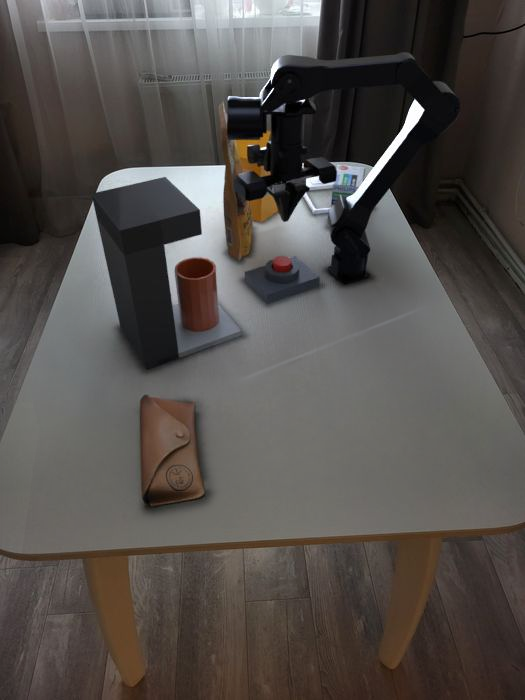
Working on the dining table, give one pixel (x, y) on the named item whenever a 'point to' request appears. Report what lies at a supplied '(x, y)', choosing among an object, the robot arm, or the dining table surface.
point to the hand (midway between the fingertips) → (284, 220)
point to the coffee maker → (151, 268)
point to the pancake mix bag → (234, 198)
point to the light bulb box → (347, 181)
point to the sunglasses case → (169, 452)
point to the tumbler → (197, 293)
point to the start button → (282, 264)
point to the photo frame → (315, 185)
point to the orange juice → (266, 204)
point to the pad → (281, 280)
